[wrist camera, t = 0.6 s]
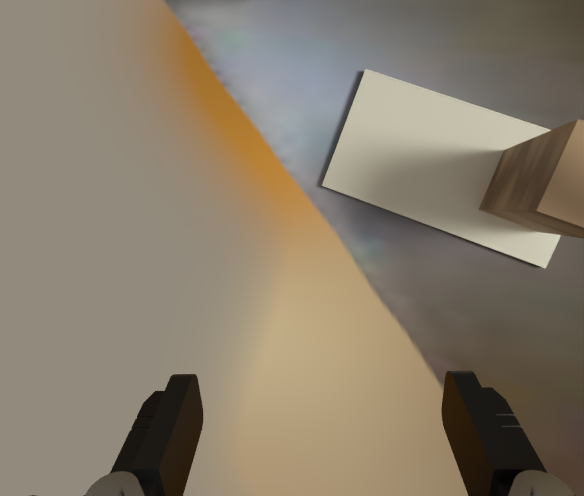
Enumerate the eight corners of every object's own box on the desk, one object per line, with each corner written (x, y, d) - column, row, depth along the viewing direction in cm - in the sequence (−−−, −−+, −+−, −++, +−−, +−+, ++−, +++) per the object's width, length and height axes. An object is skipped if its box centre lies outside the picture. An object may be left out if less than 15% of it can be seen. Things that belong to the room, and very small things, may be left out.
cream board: (365, 71, 36) (365, 68, 35) (597, 148, 33) (602, 147, 33) (322, 185, 37) (321, 185, 37) (542, 267, 35) (545, 268, 34)
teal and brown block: (504, 149, 34) (578, 119, 22) (571, 173, 33) (685, 153, 22) (478, 209, 35) (536, 210, 23) (544, 233, 34) (638, 247, 22)
